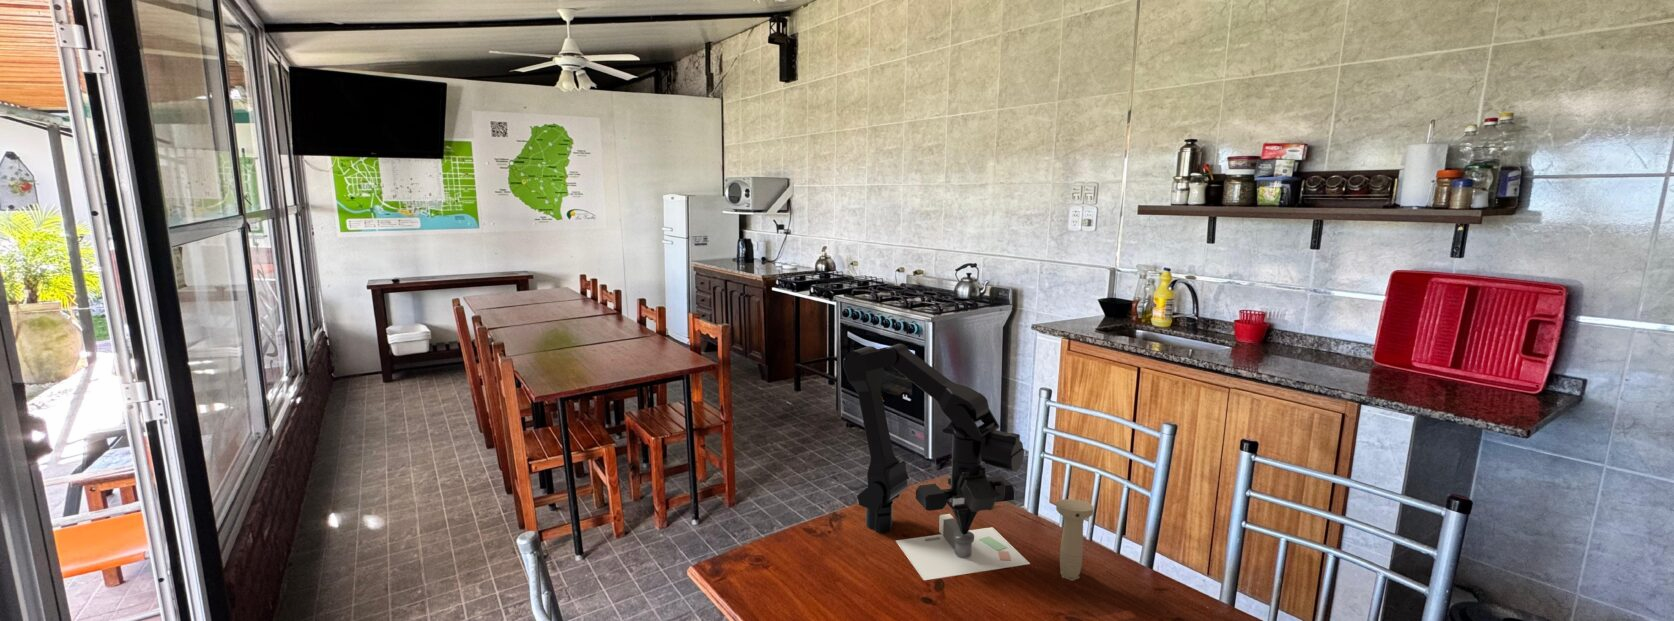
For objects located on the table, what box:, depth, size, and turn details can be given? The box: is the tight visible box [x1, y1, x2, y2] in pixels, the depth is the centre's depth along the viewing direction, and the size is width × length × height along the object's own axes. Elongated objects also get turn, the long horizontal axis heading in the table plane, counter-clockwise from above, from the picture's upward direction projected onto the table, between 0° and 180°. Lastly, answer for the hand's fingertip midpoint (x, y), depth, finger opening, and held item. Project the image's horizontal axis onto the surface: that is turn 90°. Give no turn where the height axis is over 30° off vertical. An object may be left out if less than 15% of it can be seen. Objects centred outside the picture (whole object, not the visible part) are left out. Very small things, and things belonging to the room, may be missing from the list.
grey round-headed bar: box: [938, 513, 974, 557], centre depth 139 cm, size 11×4×4 cm, turn 16°
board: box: [895, 526, 1031, 581], centre depth 137 cm, size 15×22×1 cm
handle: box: [1055, 498, 1094, 581], centre depth 128 cm, size 5×6×15 cm
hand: (963, 533), depth 135 cm, fingers closed
